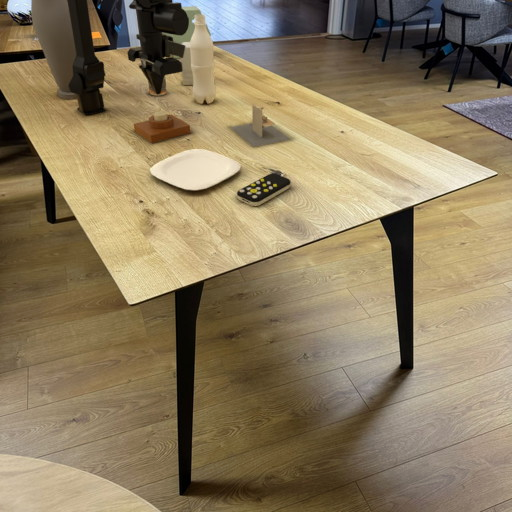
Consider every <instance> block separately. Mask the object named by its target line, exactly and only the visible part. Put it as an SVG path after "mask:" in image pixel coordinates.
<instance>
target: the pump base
mask: <svg viewBox="0 0 512 512" xmlns="http://www.w3.org/2000/svg"><path fill="white" fill-rule="evenodd" d="M167 116H168V119H167V120H164V121H155V120H154V114H153V115H151V116H149V117H148V120H145V121H140V122H136V123H133V129H134V132H135V133H136V134H137V135H139V136H140V137H142V138H144V139H145V140H146V141H148V142H149V143H150V144H154V143H158V142H162V141H165V140H170V139H173V138H175V137H179V136H182V135H187V134H191V124H189V123H188V122H186V121H184V120H182V119H180V118H179V117H177V116H175V115H173V114H168V113H167Z"/></svg>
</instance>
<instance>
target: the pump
mask: <svg viewBox="0 0 512 512" xmlns="http://www.w3.org/2000/svg"><path fill="white" fill-rule="evenodd" d="M167 114H168V112H167V111H163V110H157V111H156V112H155V111H154V113H153V115H154V120H155V121H164V120H167V119H168V116H167Z"/></svg>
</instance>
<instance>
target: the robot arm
mask: <svg viewBox="0 0 512 512" xmlns="http://www.w3.org/2000/svg"><path fill="white" fill-rule="evenodd" d="M67 2H68V7H69V13H70V19H71V25H72V31H73V37H74V43H75V49H76V57H75V60H74V63H73V77H72V79H71V81H70V83H69V85H68V86H69V89H70V91H71V93H75V94H76V96H77V98H76V100H77V105H78V107H77V110H78V111H79V112H80V113H82V114H83V115H84V116H89V115H93V114H98V113H103V112H106V108H105V103H104V98H103V93H101V91H100V90H101V89H103V88H104V84H105V79H106V76H107V75H106V71H105V64H104V61H101V60H100V59H99V58H98V57H97V55H96V54H95V53H96V52H95V46H94V39H93V31H92V25H91V18H90V11H89V5H88V0H67ZM182 7H183V6H182V2H179V1H178V2H173V0H132V2H130V4H129V5H128V8H129V9H130V10H135V12H136V21H137V27H138V33H137V34H135V36H136V40H138V41H139V42H140V46H136V47H130V48H129V49H128V51H127V59H128V61H130V62H132V63H134V62H136V60H137V59H139V60H140V64H139V65H138V68H139V69H140V70H141V72H142V73H143V75H144V77H145V78H146V80H147V82H148V81H149V83H150V85H151V87H152V88H153V90H154V92H155V93H156V94H157V95H158V94H161V89H162V84H163V79H164V76H165V77H166V76H169V75H174V74H178V73H182V71H183V67H182V63H181V61H180V60H179V59H180V58H183V56H184V51H185V45H183V44H180V43H177V42H174V41H173V37H171V36H167V35H165V34H163V33H168V34H174V35H180V36H182V35H184V34H185V33H186V31H187V30H188V26H189V18H188V16H187V13H186V12H185V10H183V9H182ZM171 55H172V56H171ZM173 55H175V56H179V57H180V58H179V59H178V58H174V56H173Z"/></svg>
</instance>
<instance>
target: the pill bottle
mask: <svg viewBox="0 0 512 512" xmlns="http://www.w3.org/2000/svg"><path fill="white" fill-rule="evenodd" d="M166 79H167V78H166V75H165V76H164V79H163V84H162V89H161V94H158V95H157V94H156V93H155V92H154V90H153V88H152V87H151V85H150V83H149V81H148V80H147V83H148V90H149V94H150V95H151V96H156V97H160V96H164V95H166V94H167V92H168V90H167V81H166Z"/></svg>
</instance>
